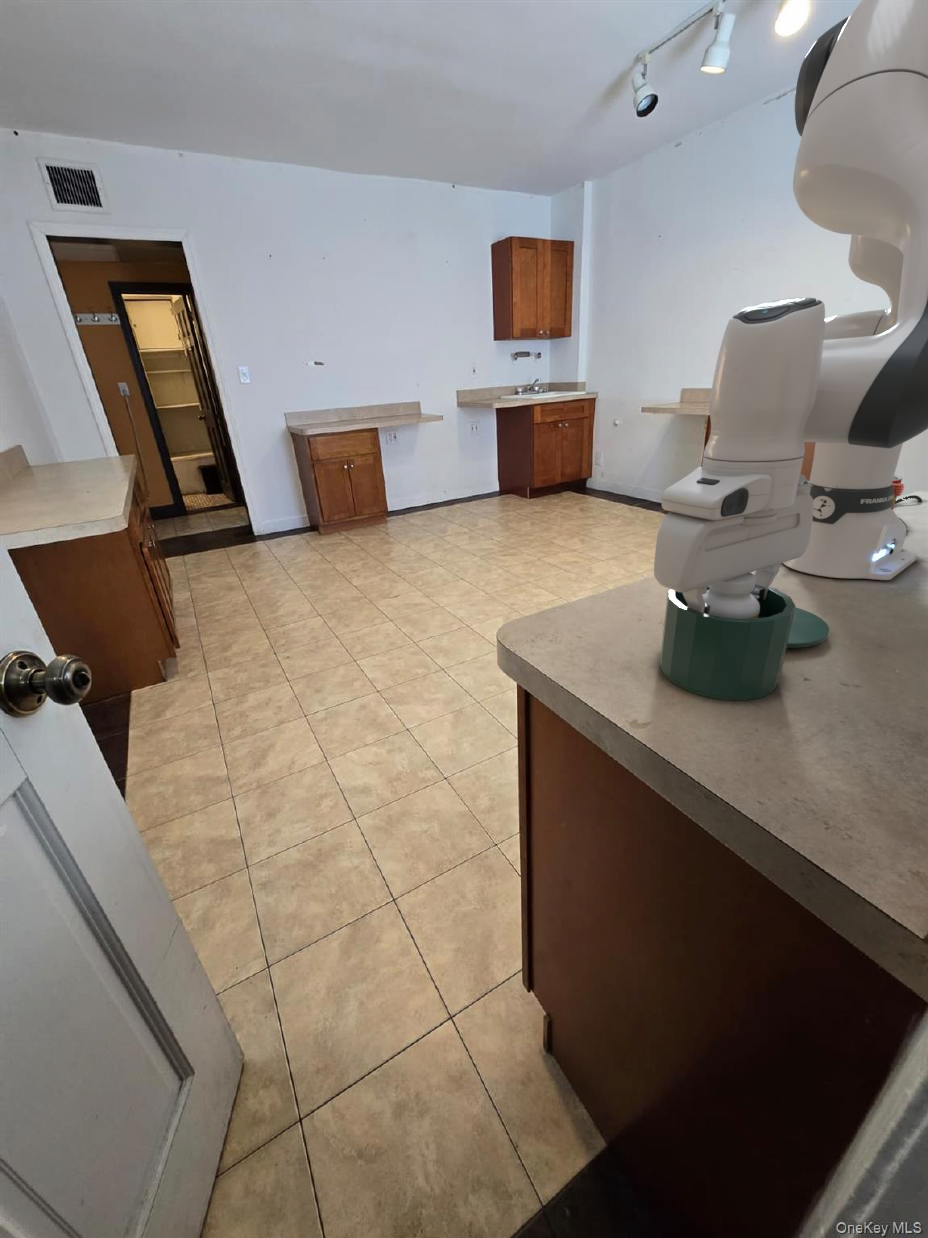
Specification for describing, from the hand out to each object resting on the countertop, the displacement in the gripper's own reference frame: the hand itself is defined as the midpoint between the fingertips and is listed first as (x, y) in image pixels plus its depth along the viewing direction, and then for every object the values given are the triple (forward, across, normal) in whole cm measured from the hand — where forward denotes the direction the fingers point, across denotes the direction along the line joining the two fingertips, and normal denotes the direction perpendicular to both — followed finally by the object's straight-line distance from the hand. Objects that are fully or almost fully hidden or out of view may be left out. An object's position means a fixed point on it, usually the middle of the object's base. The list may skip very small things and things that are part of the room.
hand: (726, 609), depth 58 cm
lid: (+8, -15, -4) cm, 17 cm away
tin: (+8, 0, 0) cm, 8 cm away
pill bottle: (+8, 0, 0) cm, 8 cm away
